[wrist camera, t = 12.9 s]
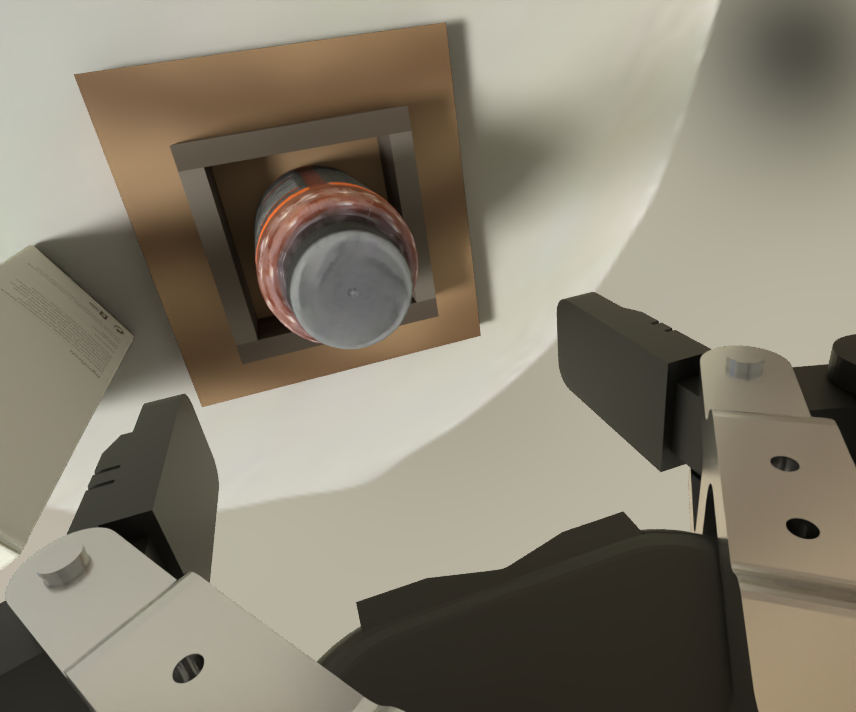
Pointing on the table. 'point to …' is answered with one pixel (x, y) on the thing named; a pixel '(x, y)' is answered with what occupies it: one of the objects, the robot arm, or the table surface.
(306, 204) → the supplement bottle
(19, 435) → the skincare box
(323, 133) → the cup holder
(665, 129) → the table surface
